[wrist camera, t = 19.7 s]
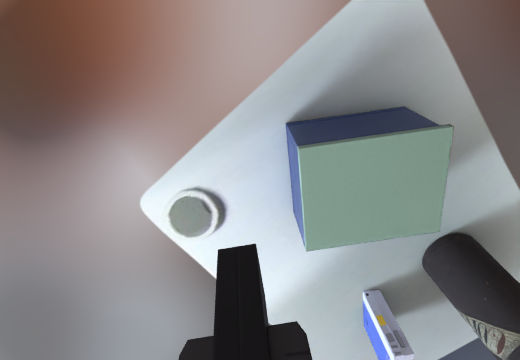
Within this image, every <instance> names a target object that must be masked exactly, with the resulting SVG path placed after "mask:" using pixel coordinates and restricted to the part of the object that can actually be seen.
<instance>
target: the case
mask: <svg viewBox="0 0 520 360" xmlns="http://www.w3.org/2000/svg"><path fill="white" fill-rule="evenodd" d="M434 126H440V125H438V124H436V123H435V122H433V121H431V120H429V119H427V118H425V117H423V116H421V115H420V114H418V113H416V112H414V111H412V110H410V109H408V108H407V107H398V108H391V109H384V110H377V111H370V112H363V113H356V114H349V115H342V116H335V117H328V118H320V119H313V120H306V121H299V122H292V123H286V133H287V144H288V155H289V166H290V177H291V188H292V199H293V210H294V215H295V218H296V221H297V224H298V227H299V230H300V233H301V237H302V240H303V243H304V246H305V241H304V228H303V215H302V202H301V189H300V176H299V163H298V150H297V146H301V145H308V144H315V143H322V142H329V141H336V140H343V139H350V138H357V137H364V136H371V135H378V134H385V133H392V132H399V131H406V130H413V129H420V128H427V127H434Z"/></svg>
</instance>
